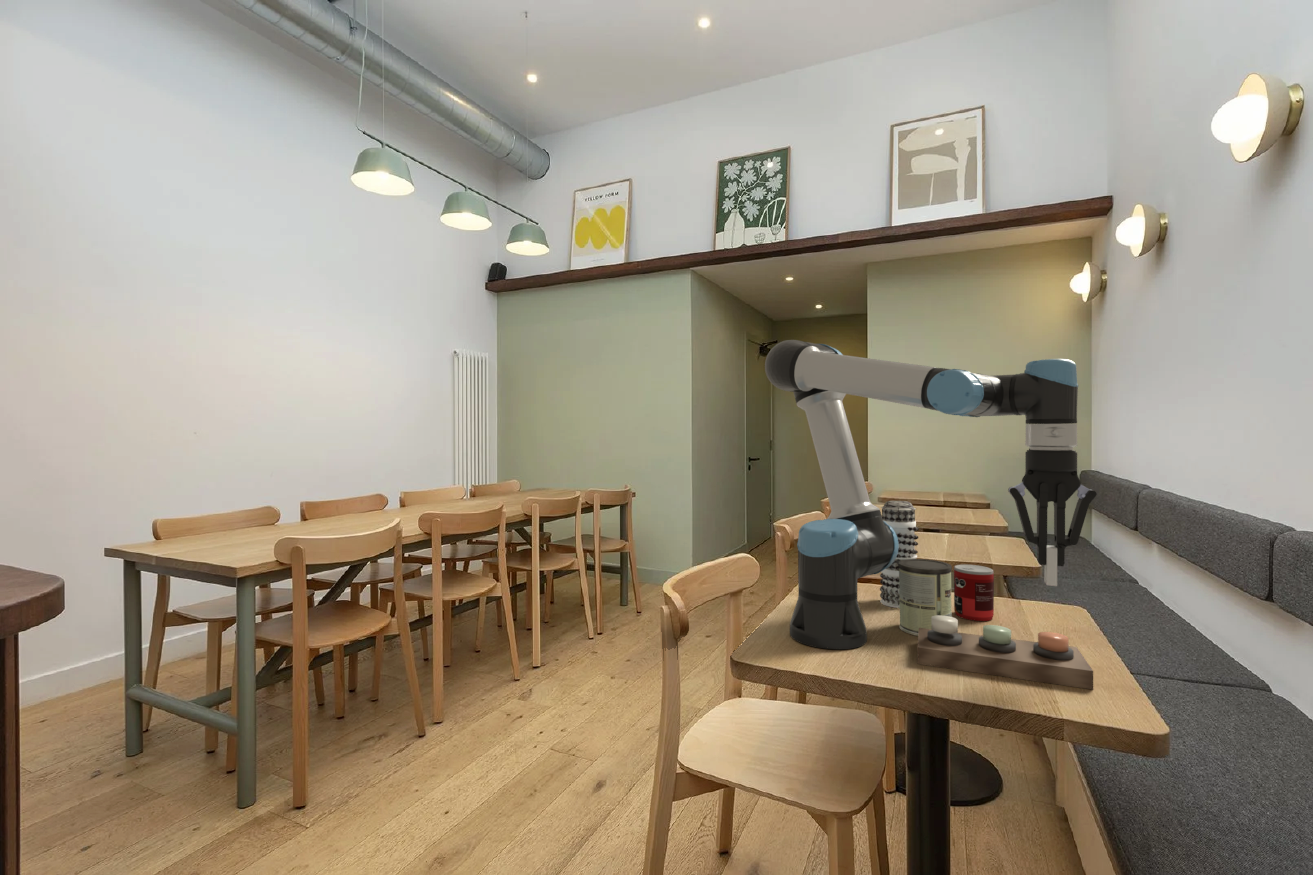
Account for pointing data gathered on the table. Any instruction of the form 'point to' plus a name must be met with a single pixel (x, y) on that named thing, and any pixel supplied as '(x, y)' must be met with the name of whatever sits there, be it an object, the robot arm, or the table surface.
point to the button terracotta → (1053, 641)
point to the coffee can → (923, 593)
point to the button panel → (1004, 658)
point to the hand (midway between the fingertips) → (1050, 583)
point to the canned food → (974, 592)
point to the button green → (997, 634)
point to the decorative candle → (904, 526)
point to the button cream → (944, 624)
